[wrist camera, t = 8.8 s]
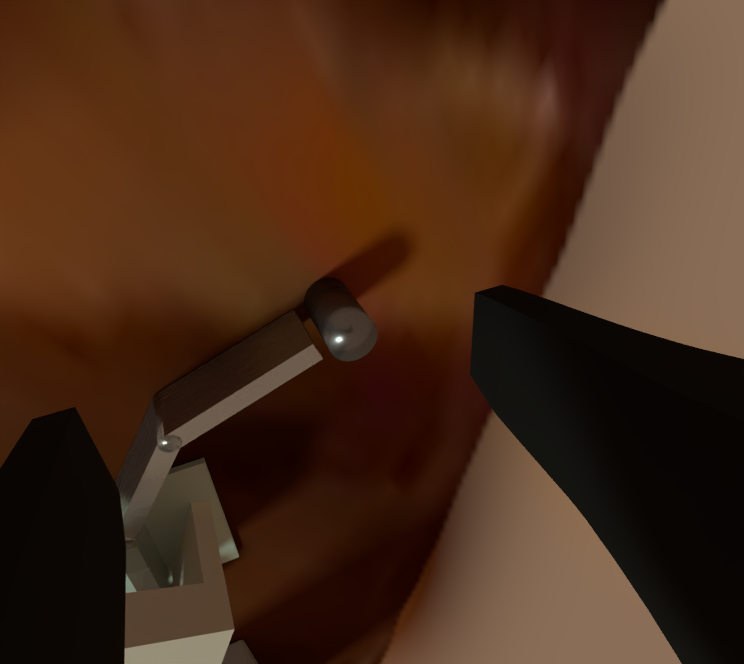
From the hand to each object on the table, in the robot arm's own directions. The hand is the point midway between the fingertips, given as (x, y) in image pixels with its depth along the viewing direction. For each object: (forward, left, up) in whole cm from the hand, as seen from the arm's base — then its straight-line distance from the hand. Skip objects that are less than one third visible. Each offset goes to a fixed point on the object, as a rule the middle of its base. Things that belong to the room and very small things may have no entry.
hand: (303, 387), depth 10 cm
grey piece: (-2, -12, -10) cm, 15 cm away
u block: (-7, -14, -10) cm, 18 cm away
